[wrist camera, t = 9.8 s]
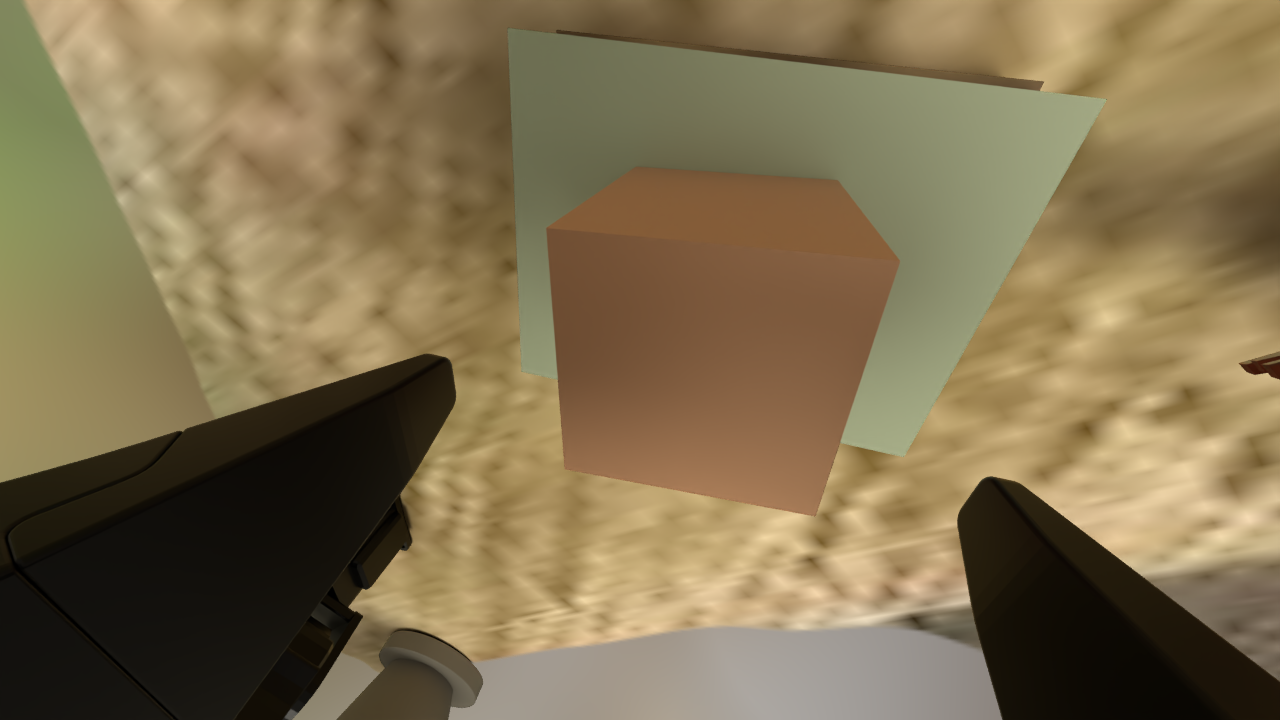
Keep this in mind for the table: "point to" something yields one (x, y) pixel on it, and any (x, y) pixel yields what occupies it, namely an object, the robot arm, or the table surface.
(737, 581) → the table surface
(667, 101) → the sage slab
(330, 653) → the robot arm
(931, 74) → the walnut slab
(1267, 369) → the decorative bird
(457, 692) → the vase
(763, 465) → the terracotta block
